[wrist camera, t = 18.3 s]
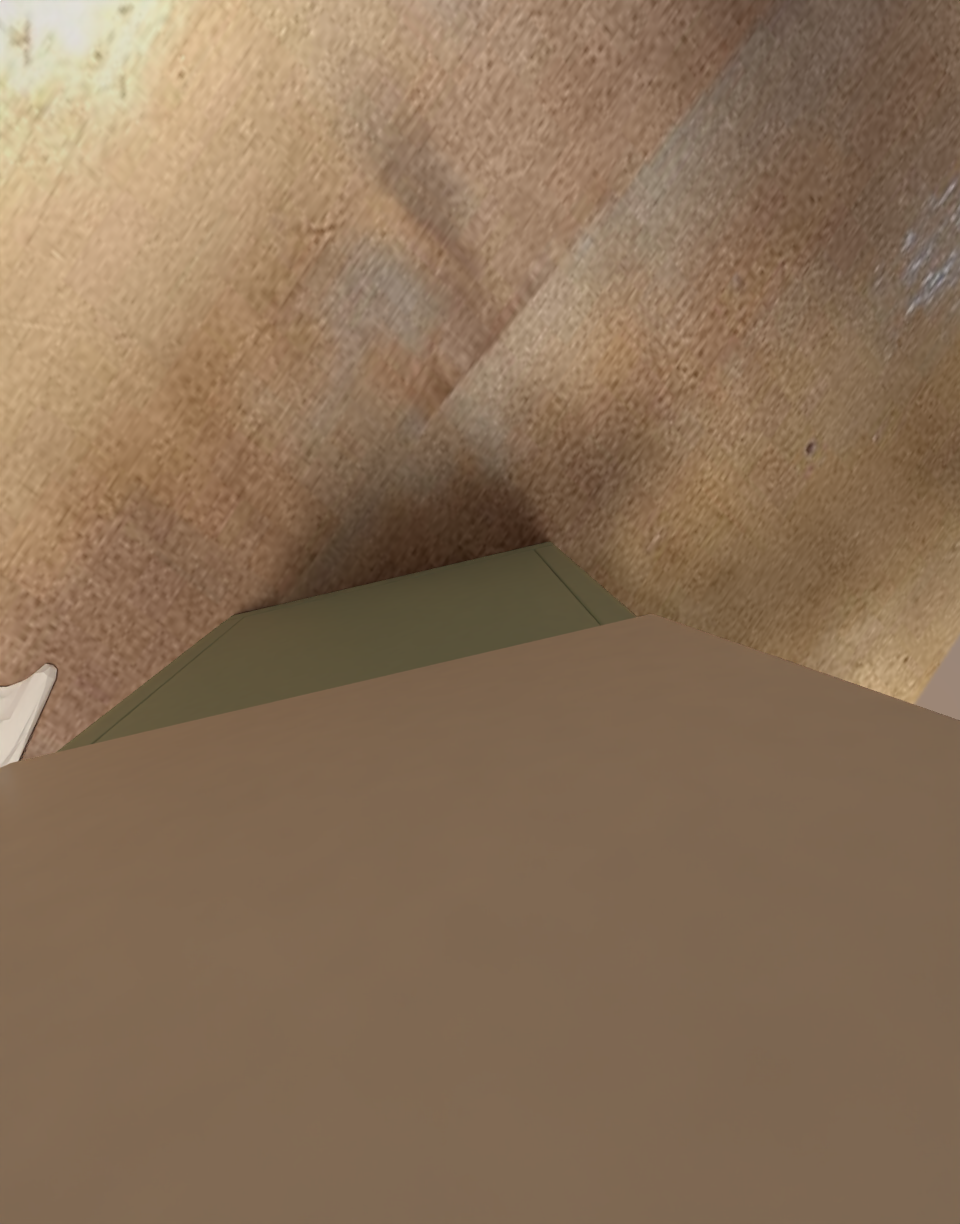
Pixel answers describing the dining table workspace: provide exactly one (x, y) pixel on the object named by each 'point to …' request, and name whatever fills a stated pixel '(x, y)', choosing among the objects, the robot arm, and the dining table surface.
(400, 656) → the box
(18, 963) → the lid
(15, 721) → the white tree stump
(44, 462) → the dining table surface
